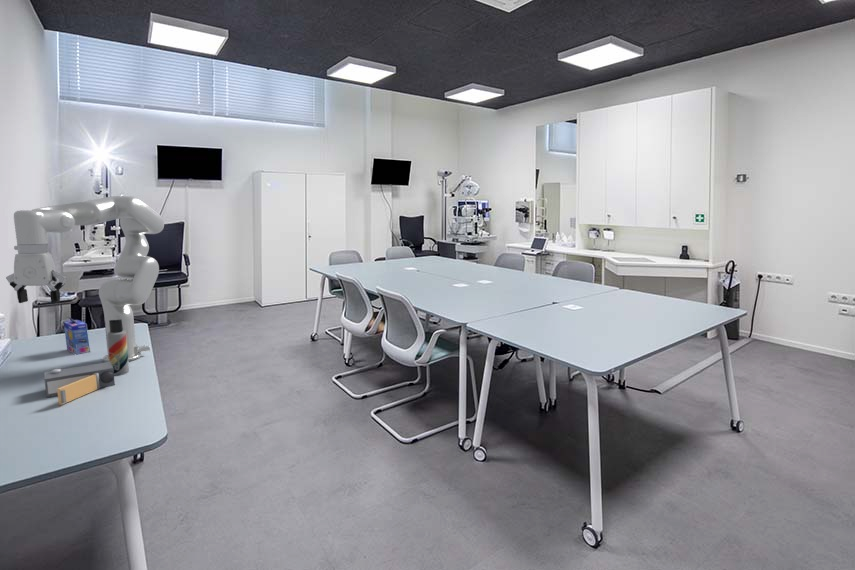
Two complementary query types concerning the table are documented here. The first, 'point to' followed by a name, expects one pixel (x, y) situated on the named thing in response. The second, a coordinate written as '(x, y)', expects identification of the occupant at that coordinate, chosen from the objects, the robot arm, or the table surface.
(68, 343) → the ink cartridge box
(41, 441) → the table surface
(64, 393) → the tall beige panel
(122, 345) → the lotion bottle
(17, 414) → the table surface
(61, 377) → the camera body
